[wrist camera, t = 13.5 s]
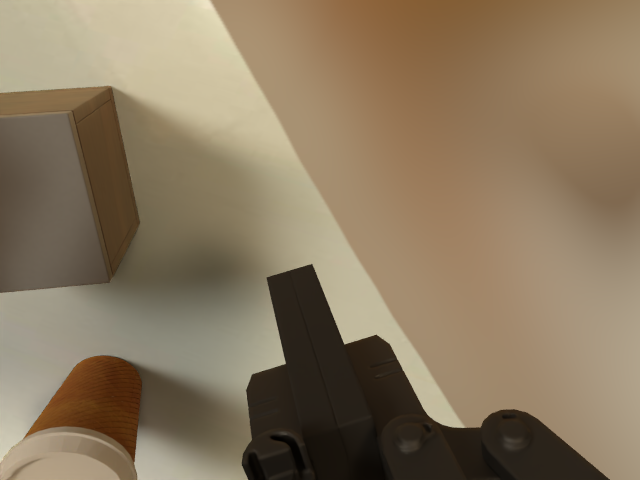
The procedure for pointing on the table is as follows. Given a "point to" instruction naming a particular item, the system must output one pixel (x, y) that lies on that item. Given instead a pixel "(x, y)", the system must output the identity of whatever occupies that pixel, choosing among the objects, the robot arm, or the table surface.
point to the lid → (47, 206)
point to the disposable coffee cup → (83, 427)
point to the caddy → (93, 155)
